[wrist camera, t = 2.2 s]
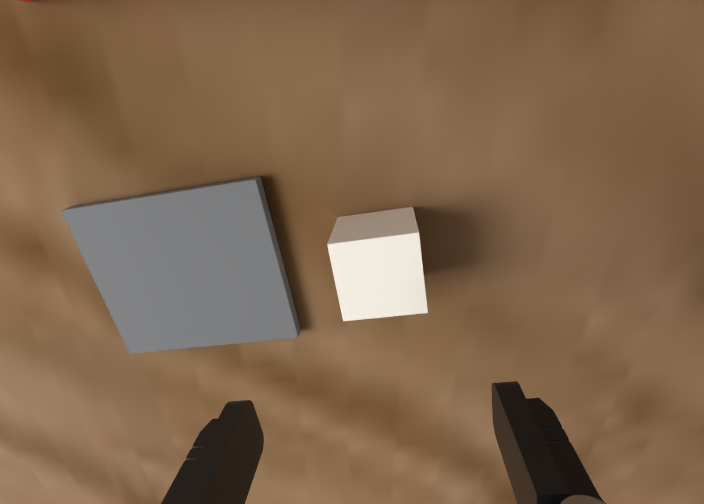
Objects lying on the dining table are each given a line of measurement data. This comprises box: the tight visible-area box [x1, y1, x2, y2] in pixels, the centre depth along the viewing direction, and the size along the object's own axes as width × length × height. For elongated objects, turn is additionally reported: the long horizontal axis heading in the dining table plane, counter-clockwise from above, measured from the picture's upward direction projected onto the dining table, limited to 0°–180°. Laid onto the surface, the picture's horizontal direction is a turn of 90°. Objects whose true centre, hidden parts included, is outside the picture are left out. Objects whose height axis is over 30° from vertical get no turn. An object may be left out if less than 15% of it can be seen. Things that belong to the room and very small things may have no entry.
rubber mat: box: [61, 176, 301, 354], centre depth 27 cm, size 14×12×1 cm
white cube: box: [327, 207, 428, 321], centre depth 23 cm, size 5×5×5 cm
